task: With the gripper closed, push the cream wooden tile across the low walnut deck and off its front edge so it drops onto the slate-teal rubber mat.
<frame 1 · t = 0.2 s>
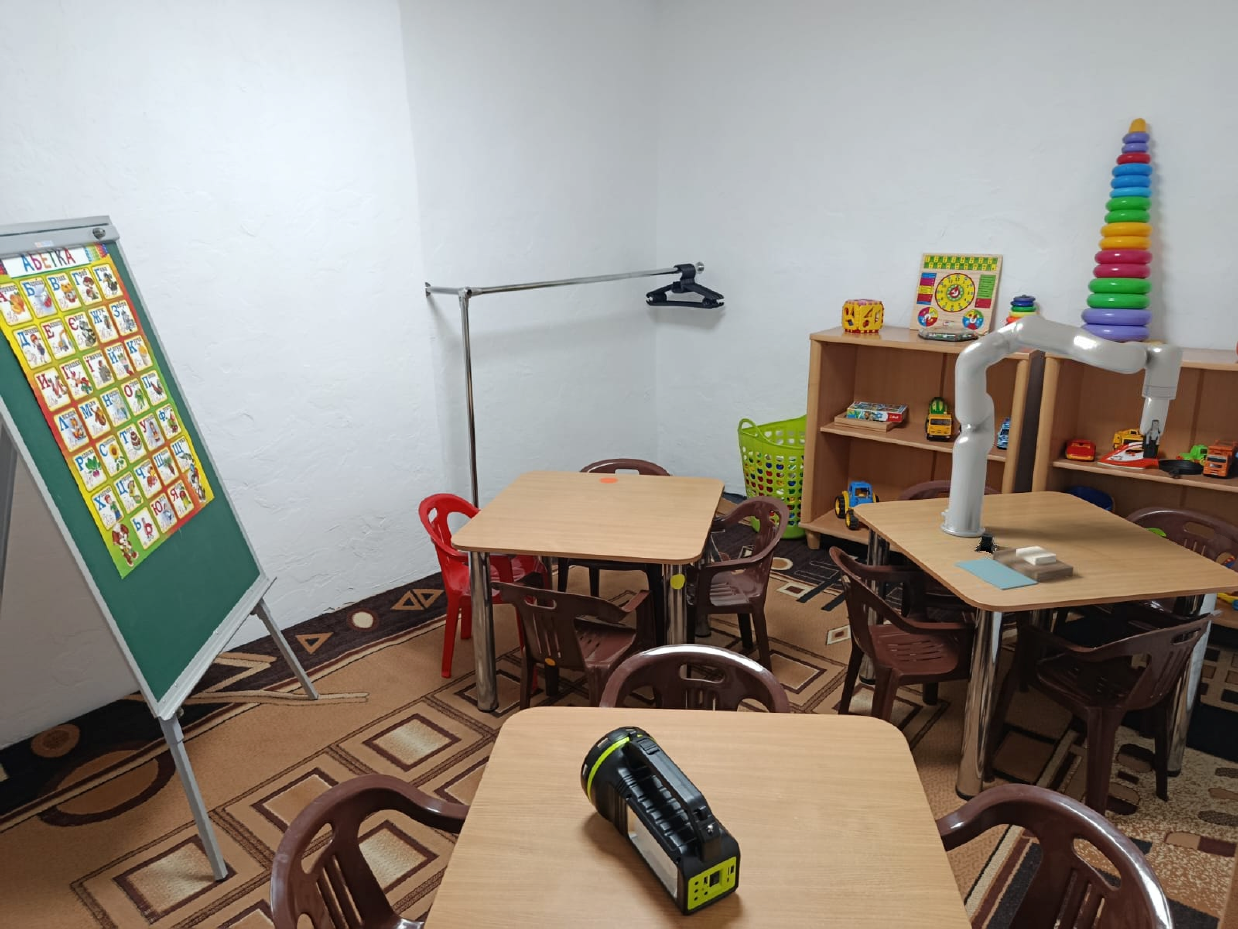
hand: (1148, 454, 224), 31 cm above the table, tool pointing down, fingers open, 9 cm apart
deck: (1031, 567, 227), on the table
black irregular piece: (986, 550, 242), on the table
tile: (1035, 558, 227), point 2 cm above the table, touching deck
mat: (995, 573, 224), on the table
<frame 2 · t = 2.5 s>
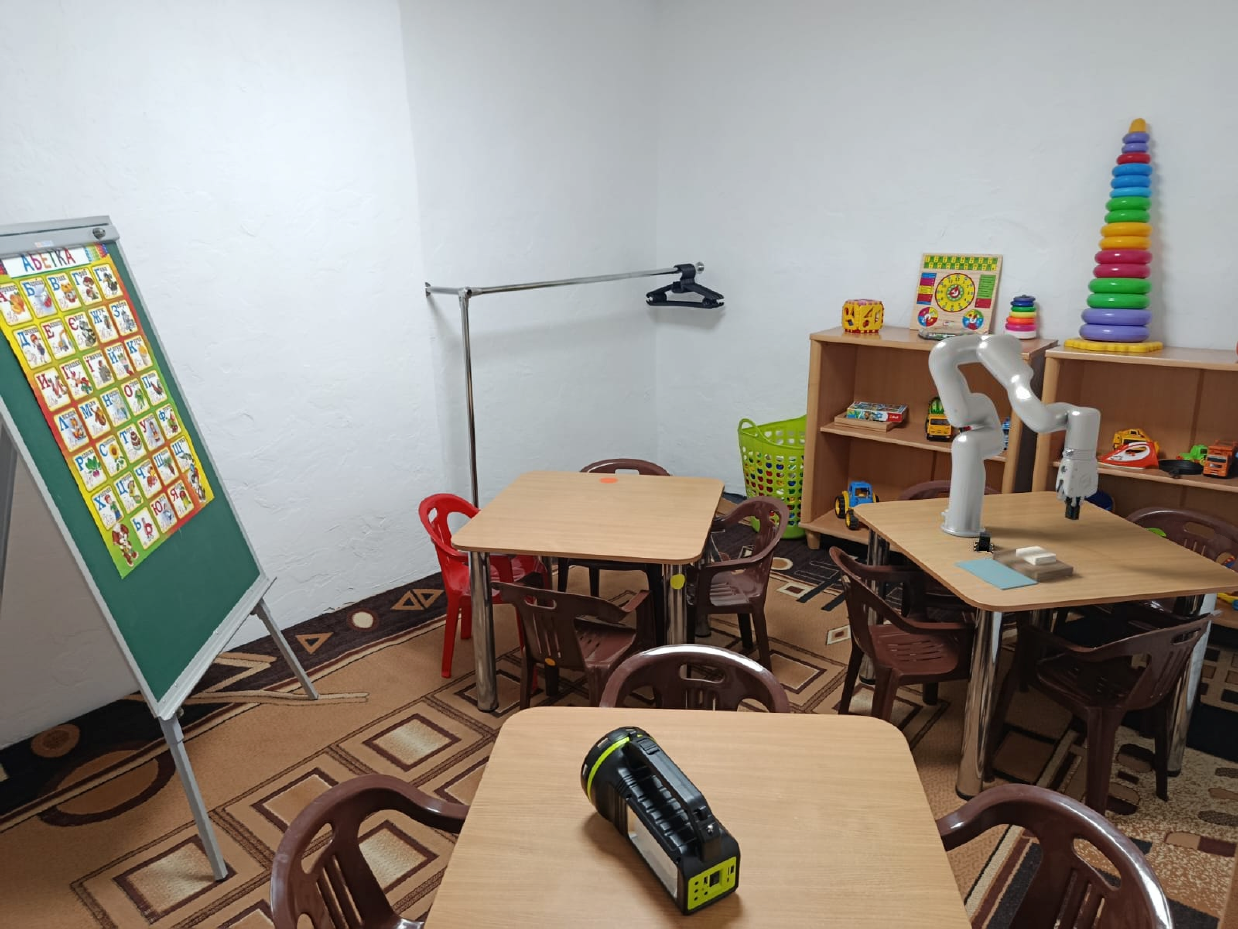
hand: (1071, 518, 226), 13 cm above the table, tool pointing down, fingers closed
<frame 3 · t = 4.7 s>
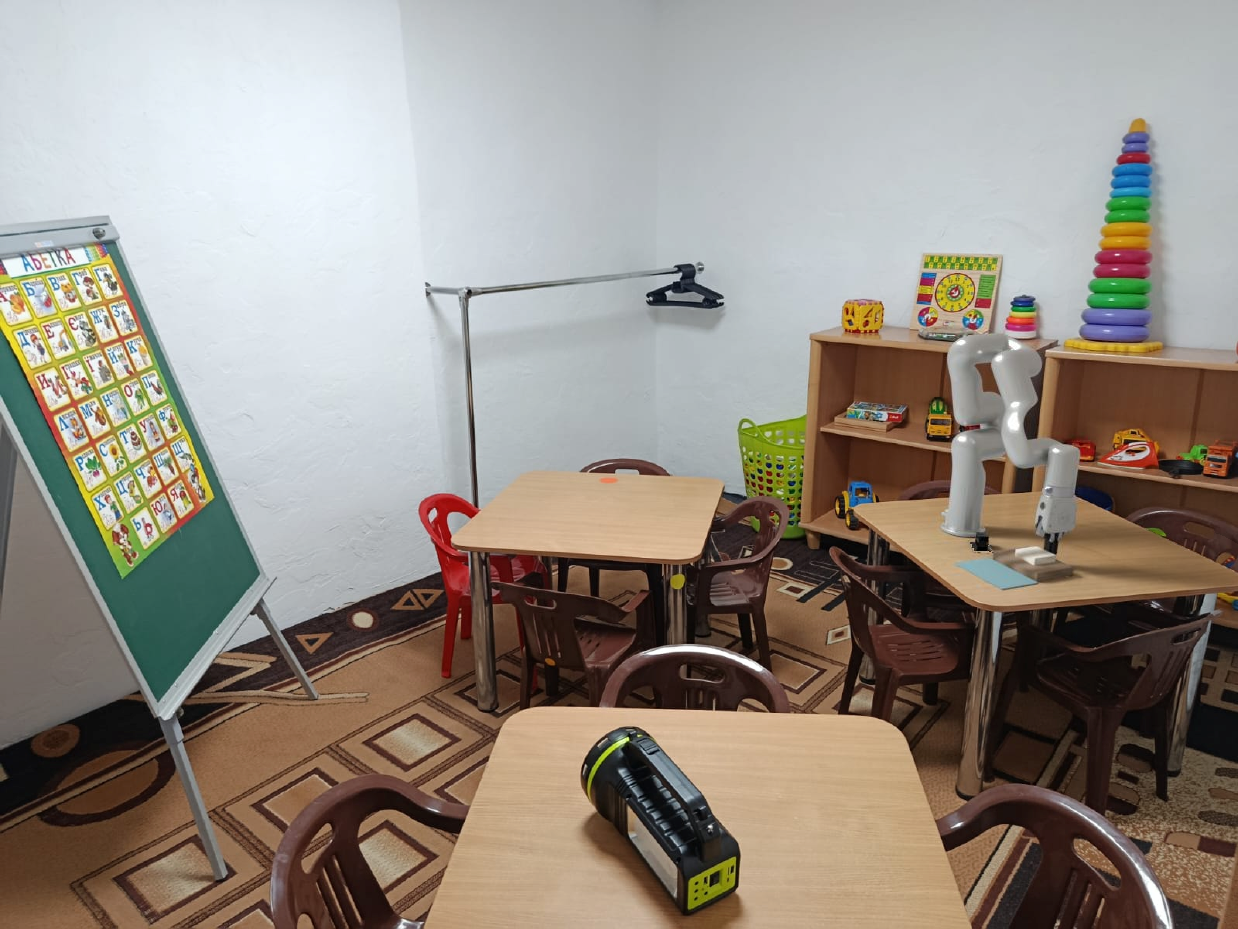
hand: (1049, 553, 228), 3 cm above the table, tool pointing down, fingers closed
tile: (1034, 559, 227), point 3 cm above the table, touching gripper
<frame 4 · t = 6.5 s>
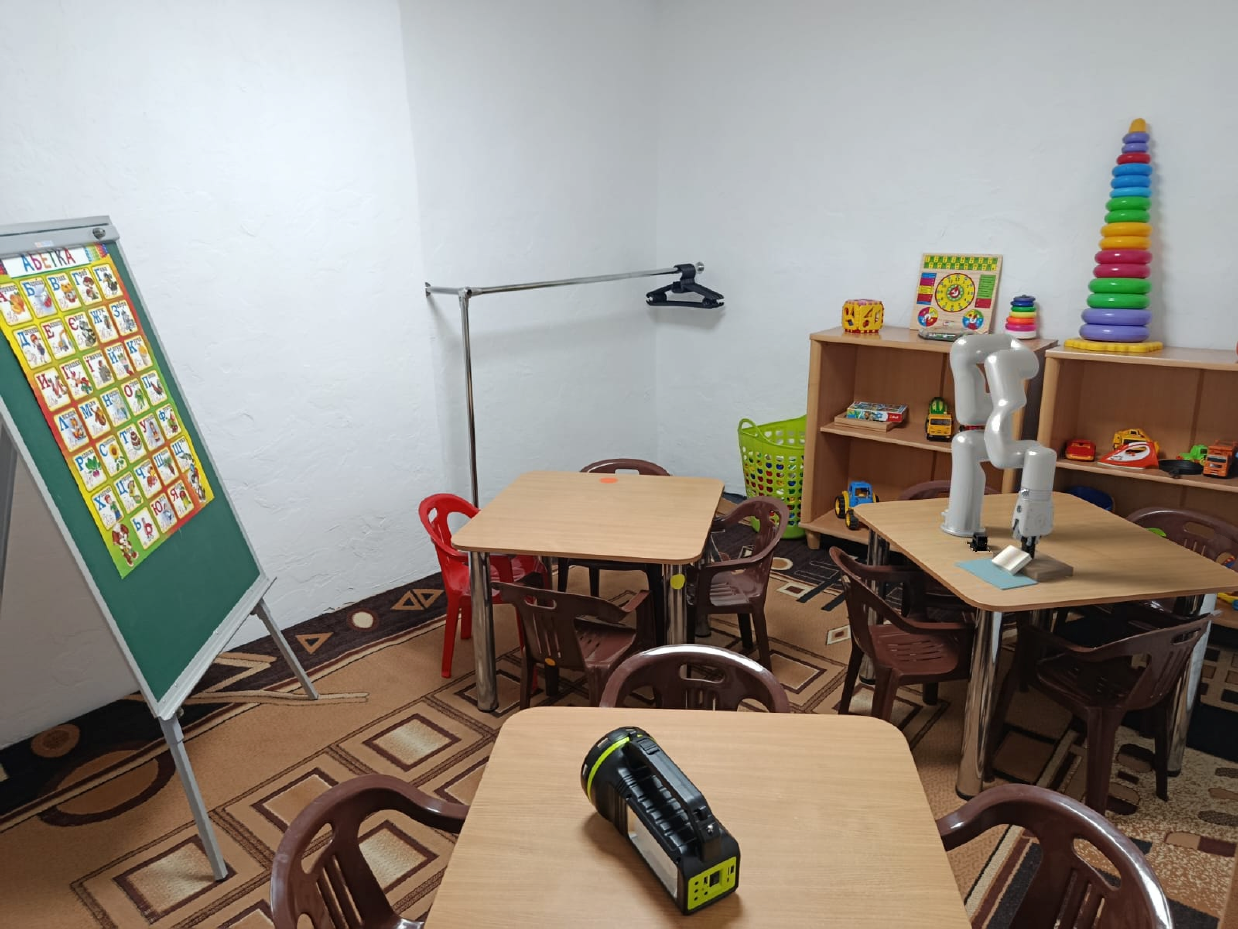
hand: (1027, 557, 226), 3 cm above the table, tool pointing down, fingers closed
tile: (1012, 562, 225), point 2 cm above the table, tilted 34°, touching mat
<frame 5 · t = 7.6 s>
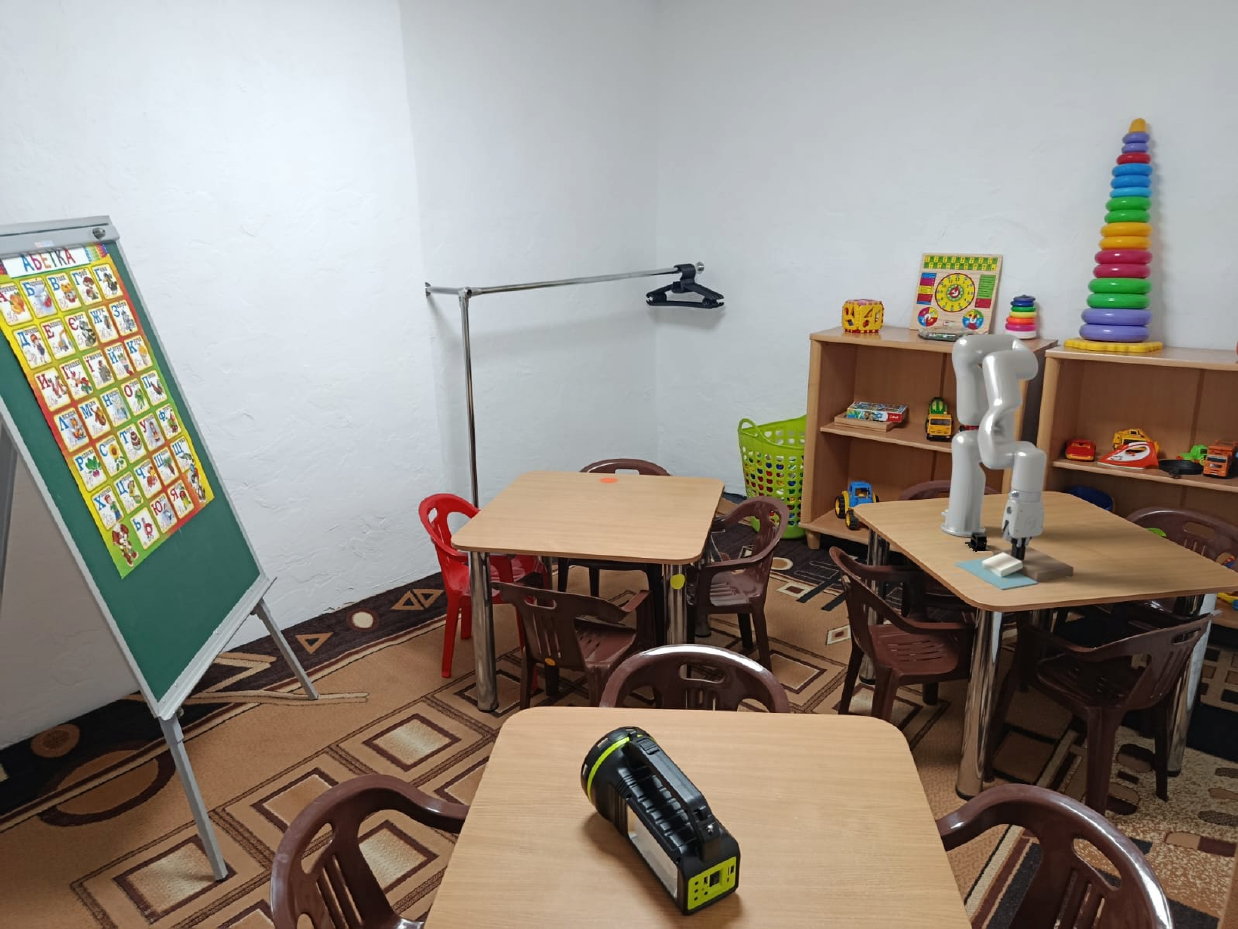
hand: (1017, 558, 225), 3 cm above the table, tool pointing down, fingers closed
tile: (1002, 567, 225), point 1 cm above the table, tilted 15°
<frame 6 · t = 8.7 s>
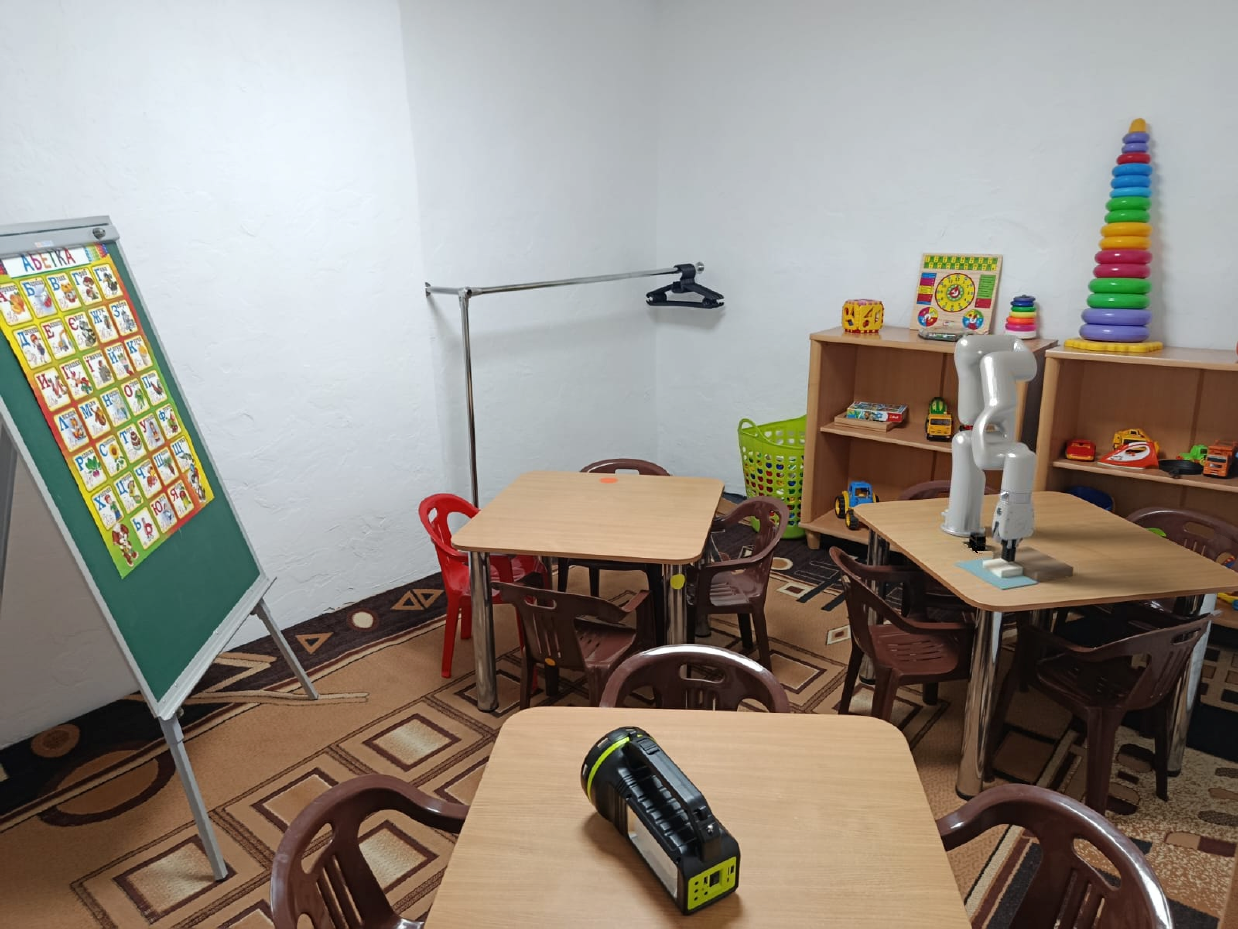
hand: (1007, 560, 224), 3 cm above the table, tool pointing down, fingers closed
tile: (1002, 570, 225), resting on mat
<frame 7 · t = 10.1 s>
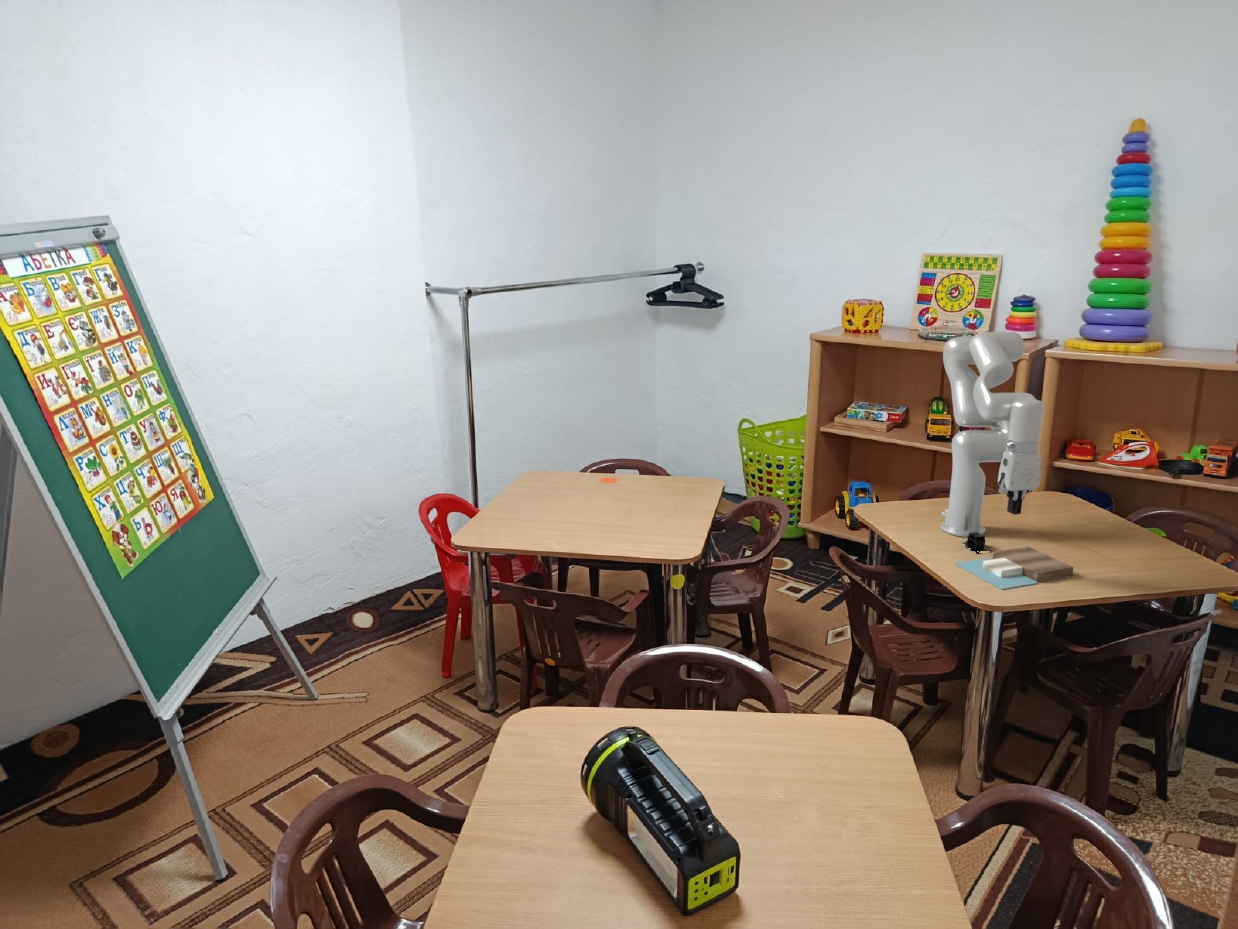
hand: (1013, 512, 221), 17 cm above the table, tool pointing down, fingers closed
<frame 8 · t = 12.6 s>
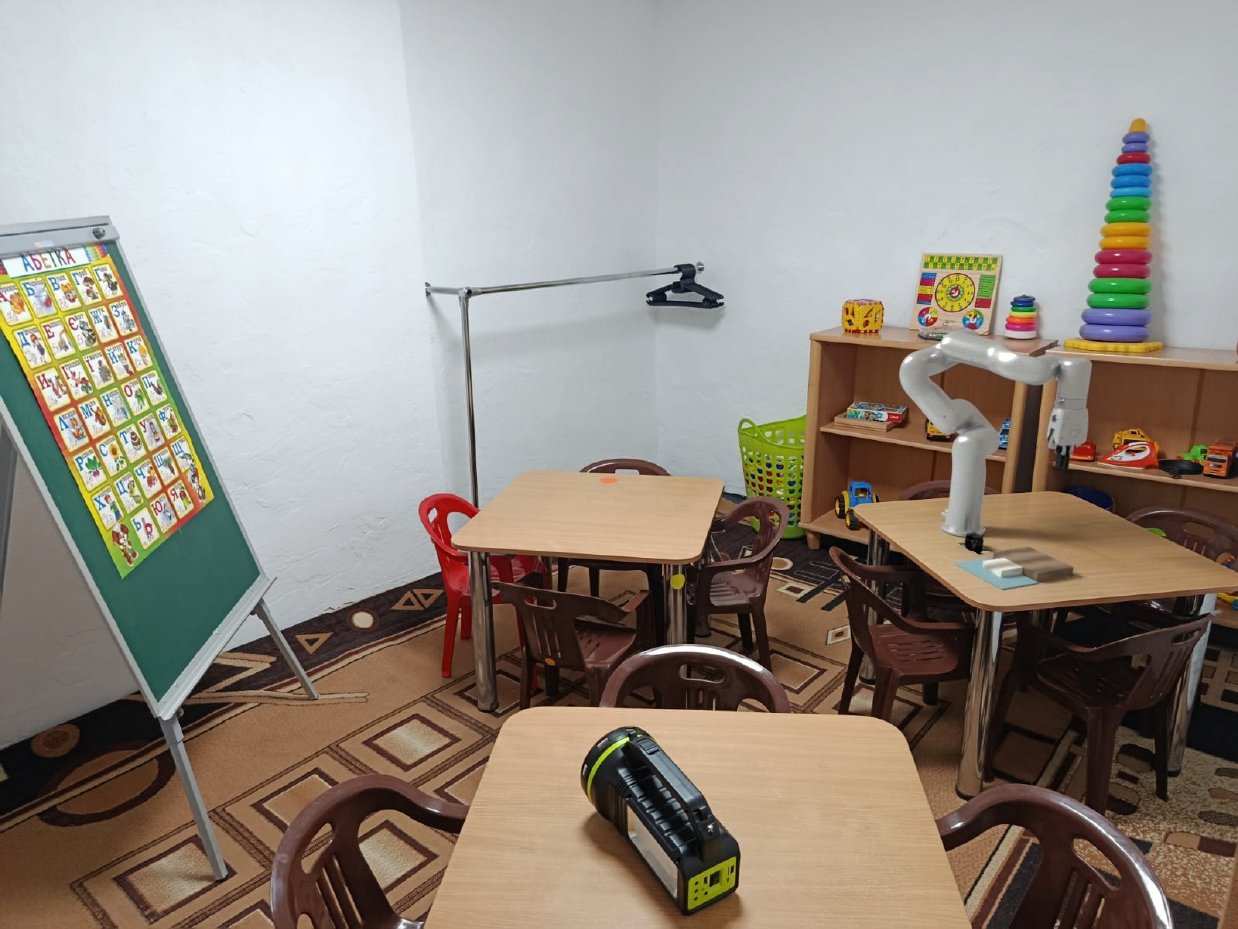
hand: (1061, 467, 232), 25 cm above the table, tool pointing down, fingers closed
at the end: tile inside the target area (2.7 cm from its centre), resting on mat; tile touching mat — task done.
